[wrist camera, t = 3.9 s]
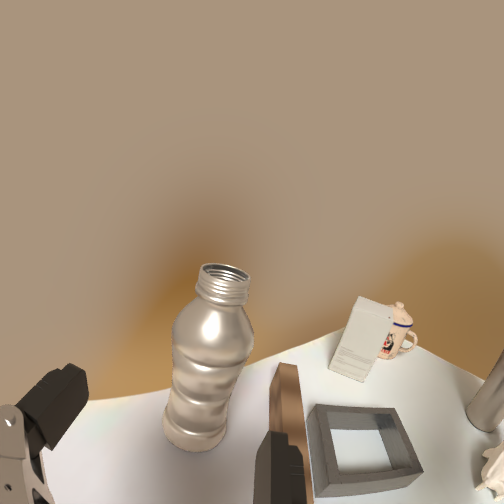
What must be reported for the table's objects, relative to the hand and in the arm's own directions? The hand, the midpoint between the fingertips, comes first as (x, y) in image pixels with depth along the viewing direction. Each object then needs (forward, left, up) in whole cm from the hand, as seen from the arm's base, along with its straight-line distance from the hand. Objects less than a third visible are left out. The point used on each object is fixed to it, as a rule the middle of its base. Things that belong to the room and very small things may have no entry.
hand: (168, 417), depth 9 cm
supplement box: (-40, -2, -17) cm, 44 cm away
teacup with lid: (-53, +2, -17) cm, 56 cm away
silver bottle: (-9, -7, -17) cm, 21 cm away
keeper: (-22, +8, -17) cm, 29 cm away
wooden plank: (-15, +1, -17) cm, 23 cm away
